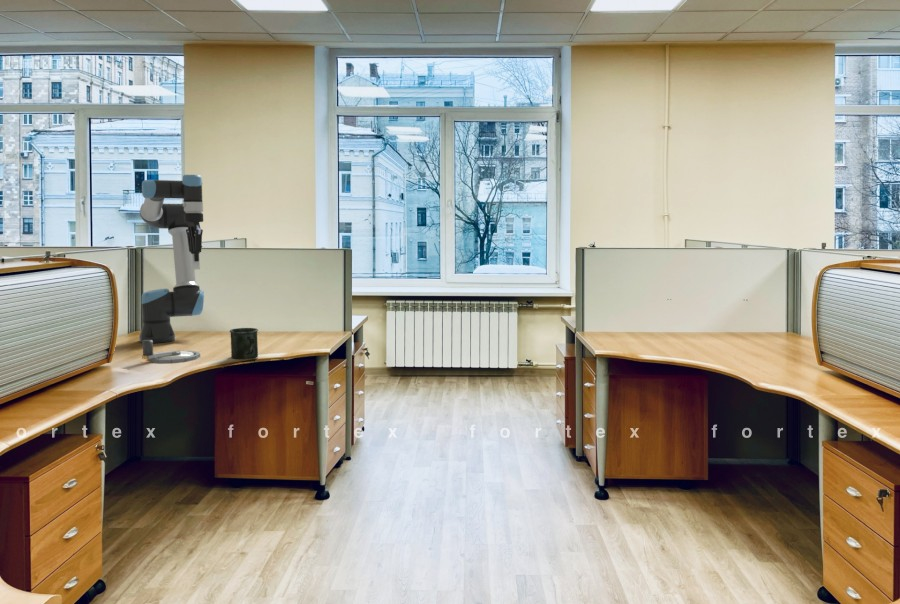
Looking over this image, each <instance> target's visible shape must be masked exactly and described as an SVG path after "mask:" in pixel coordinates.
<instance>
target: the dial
mask: <svg viewBox="0 0 900 604" xmlns="http://www.w3.org/2000/svg"><path fill="white" fill-rule="evenodd" d="M141 343H142V345H141V346H142V354H141V359H143V360H149V358H157V359H178V358H186V357H191V356H194V353H193V352H188V351H189V350H166V351H161V352H154V343H153V340H143V341H142V342H141Z"/></svg>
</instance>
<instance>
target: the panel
mask: <svg viewBox="0 0 900 604" xmlns="http://www.w3.org/2000/svg"><path fill="white" fill-rule="evenodd" d="M187 351H188V352H193V353H194V356H191V357H186V358H178V359H157V358H149V359H148V360H147V361H141V362H140V364H144V363H145V364H146V363H151V362H152V363H156V364H157V363H158V364H173V363H174V364H175V363H184V362H189V361H194V360H198V359H199V358H201V353H200V352H199V351H195V350H187Z"/></svg>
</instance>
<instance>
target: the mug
mask: <svg viewBox="0 0 900 604" xmlns="http://www.w3.org/2000/svg"><path fill="white" fill-rule="evenodd" d="M258 331H259V329H258V328H255V327H254V328H253V327H238V328H237V327H236V328H233V329H232V328H231V329H230V330H229V331H228V332H229V333H230V351H231V352H230V353H231V354H230V355H231V359H233V360H238V361H239V360H240V361H241V363H245V362H246V363H248V362H254V361H257V360H258V359H259V349H258V345H259V343H258ZM242 360H243V361H242Z"/></svg>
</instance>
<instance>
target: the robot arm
mask: <svg viewBox="0 0 900 604" xmlns="http://www.w3.org/2000/svg"><path fill="white" fill-rule="evenodd" d="M202 181H203V180H202V175H200V174H183V175H182V180H167V179H166V180H164V179H163V180H162V179H144V180H143V181H141V193H142V194H141V195H142V197H143V198H144V202H143V203H142V204H141V206H140V208H139V215H140V217H141V219H142V220H143V222H144V223H145V224H147V225H148V226H150V227H153V228H156V229H167V230H168V231H167V232H168V234H170V235H171V239H172V251H173V261H174V271H175V272H174V274H175V285H174V287H173V286H172V291H170V290H169V288H157V289H153V290H147V291H145V292H143V293H142V295H141V310H142V312H141V313H142V315H141V316H142V326H141V330H140V333H139V338H138V339H139V342H140V343H142V341H143V340H153V344H160V343H161V344H162V343H167V342H168V343H169V342H172V341H175V340H176V334H175V332H174V329H173V325H172V324H171V318H175V317H176V318H177V317H193V316H199V315H201V314H202V313H203V310H204V302H205V299H204V298H205V294H204V293H205V292H204V290H202V289H200V285H199V284H197V280H196V271H195V270H200V269H201V266H200V253H202V246H203V245H202V243H203V241H202V240H203V239H202V238H203V232H204V230H203V229H201V226H200V223H203V222H204V213H203V212H204V202H203V182H202ZM165 199H182V200H183V203H165V202H164V201H165Z"/></svg>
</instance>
